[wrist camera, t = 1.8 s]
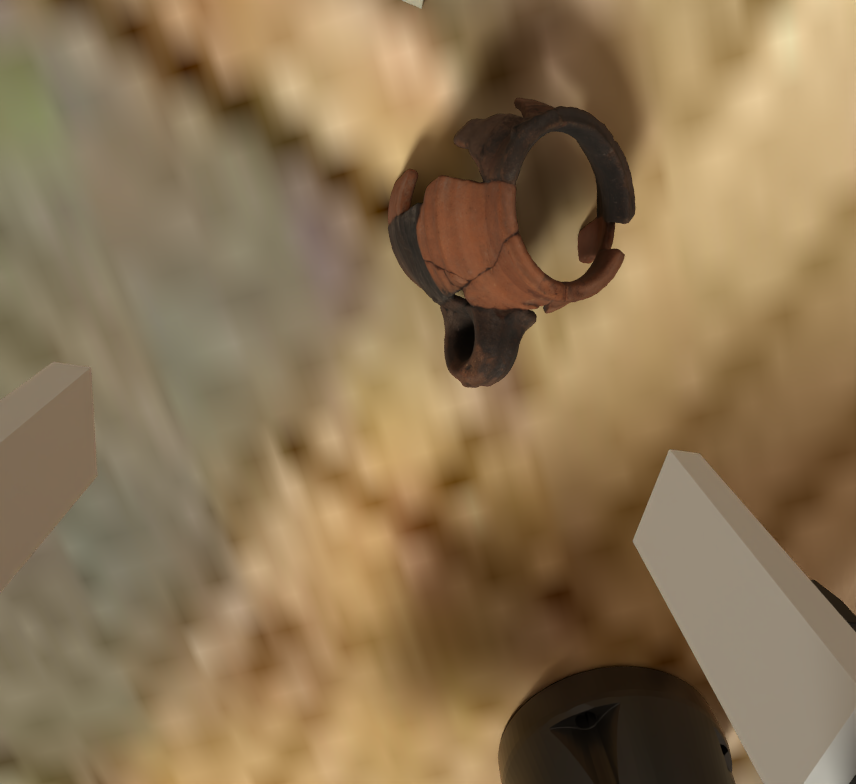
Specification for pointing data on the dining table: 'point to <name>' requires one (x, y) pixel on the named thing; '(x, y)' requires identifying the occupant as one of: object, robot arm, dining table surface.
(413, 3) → the sage tile
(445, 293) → the pottery mug
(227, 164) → the dining table surface
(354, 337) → the dining table surface
